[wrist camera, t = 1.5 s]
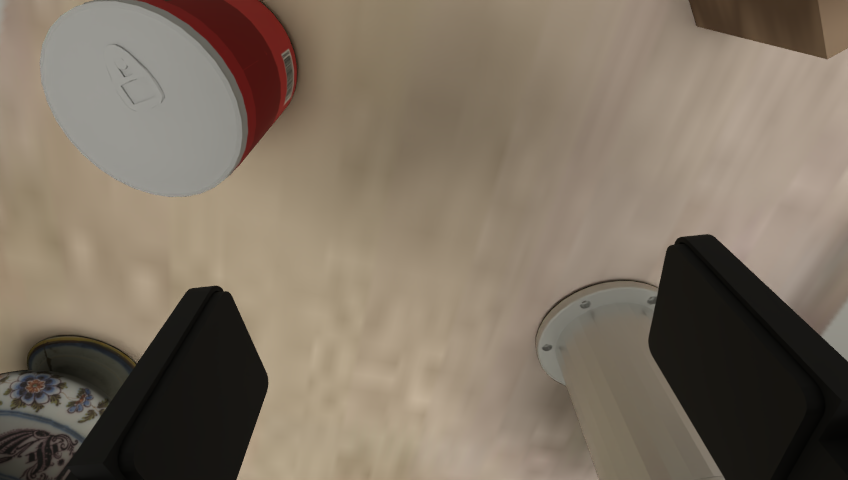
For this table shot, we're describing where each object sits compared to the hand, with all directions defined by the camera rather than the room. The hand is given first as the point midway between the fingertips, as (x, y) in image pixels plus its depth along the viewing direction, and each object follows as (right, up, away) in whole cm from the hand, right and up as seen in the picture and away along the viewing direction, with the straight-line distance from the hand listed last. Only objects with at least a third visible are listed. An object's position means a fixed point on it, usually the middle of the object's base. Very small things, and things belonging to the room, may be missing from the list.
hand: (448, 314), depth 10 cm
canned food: (-12, +13, +18) cm, 25 cm away
